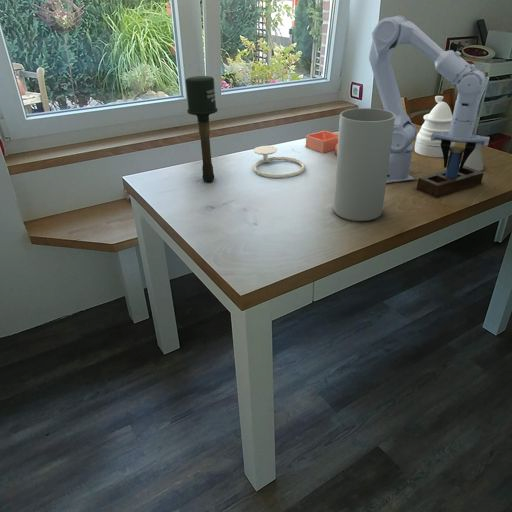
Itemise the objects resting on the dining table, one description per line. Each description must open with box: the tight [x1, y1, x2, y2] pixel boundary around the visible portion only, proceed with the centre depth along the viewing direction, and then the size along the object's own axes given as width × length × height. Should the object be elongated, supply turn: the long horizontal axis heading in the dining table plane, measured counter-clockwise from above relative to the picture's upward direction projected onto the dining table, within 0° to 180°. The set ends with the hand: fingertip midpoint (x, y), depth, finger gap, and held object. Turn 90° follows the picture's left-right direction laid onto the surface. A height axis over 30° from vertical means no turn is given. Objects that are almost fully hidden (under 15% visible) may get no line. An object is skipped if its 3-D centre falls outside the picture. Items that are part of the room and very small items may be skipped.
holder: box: [416, 166, 485, 199], centre depth 126 cm, size 7×18×4 cm, turn 119°
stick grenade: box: [184, 75, 218, 183], centre depth 128 cm, size 8×9×30 cm
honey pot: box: [413, 95, 456, 158], centre depth 149 cm, size 13×13×18 cm
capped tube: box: [445, 145, 465, 179], centre depth 123 cm, size 4×4×9 cm
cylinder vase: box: [333, 107, 395, 222], centre depth 108 cm, size 12×12×25 cm
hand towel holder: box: [252, 145, 306, 179], centre depth 143 cm, size 17×4×21 cm
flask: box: [460, 144, 484, 172], centre depth 136 cm, size 7×7×10 cm
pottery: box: [305, 130, 339, 156], centre depth 155 cm, size 18×10×10 cm, turn 37°
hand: (453, 167), depth 124 cm, fingers closed on capped tube, 3 cm apart
